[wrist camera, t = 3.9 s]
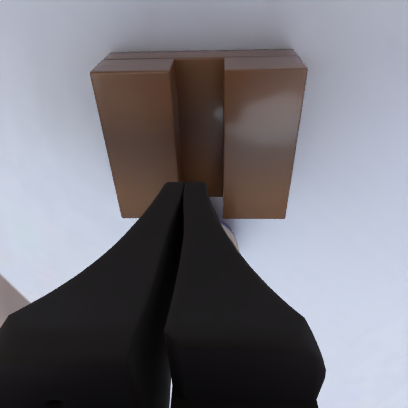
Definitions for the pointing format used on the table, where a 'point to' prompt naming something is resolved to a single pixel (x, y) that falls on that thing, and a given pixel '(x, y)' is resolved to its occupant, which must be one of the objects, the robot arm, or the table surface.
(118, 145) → the block
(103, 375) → the robot arm
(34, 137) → the table surface
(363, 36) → the table surface
